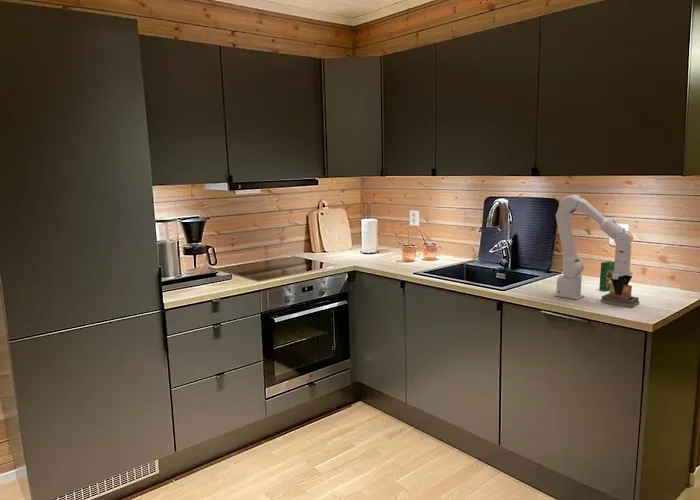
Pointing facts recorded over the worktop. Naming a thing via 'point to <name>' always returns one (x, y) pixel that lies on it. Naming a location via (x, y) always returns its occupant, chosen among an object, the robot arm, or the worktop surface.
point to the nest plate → (620, 301)
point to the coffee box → (606, 275)
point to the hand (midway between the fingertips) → (620, 293)
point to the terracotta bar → (625, 292)
